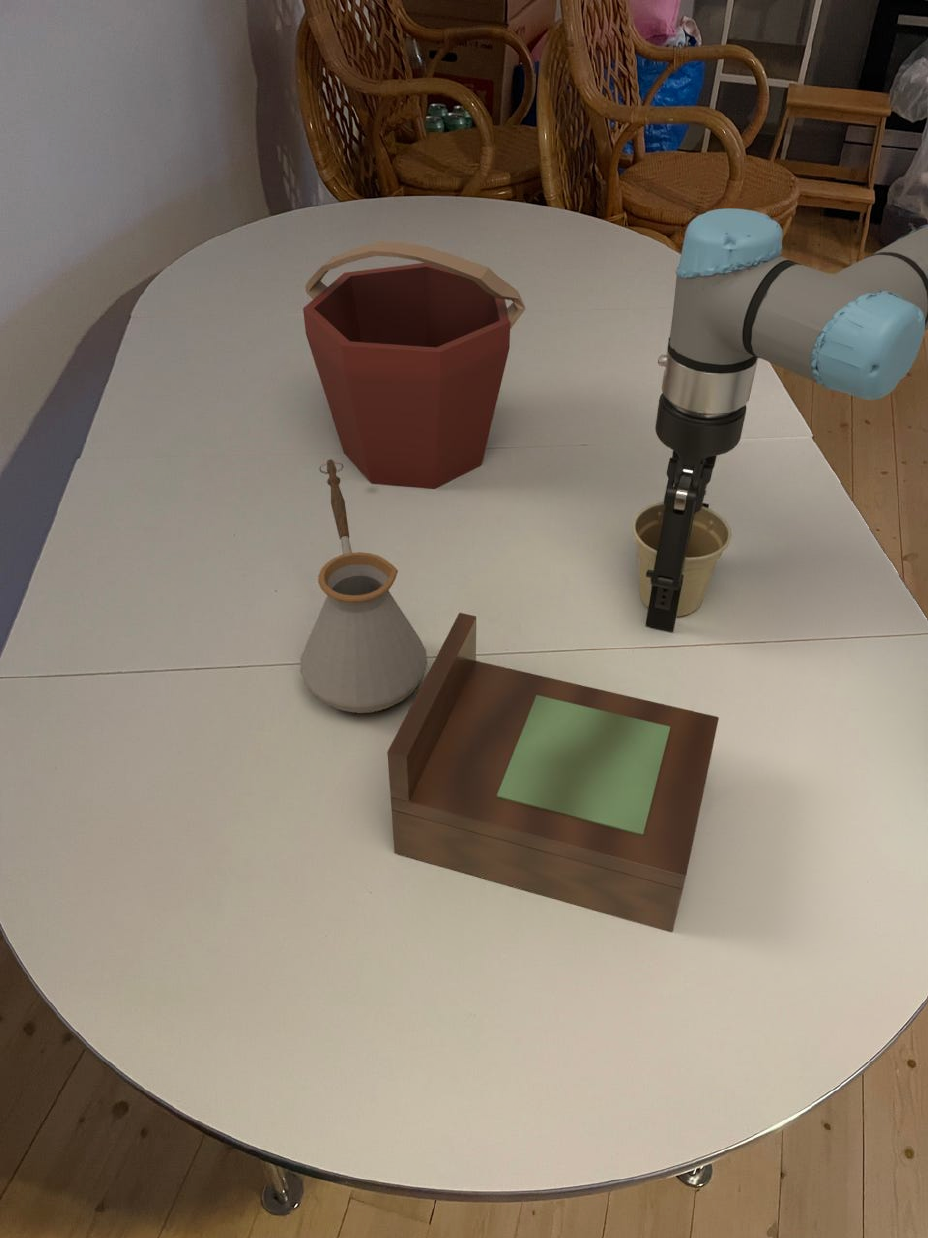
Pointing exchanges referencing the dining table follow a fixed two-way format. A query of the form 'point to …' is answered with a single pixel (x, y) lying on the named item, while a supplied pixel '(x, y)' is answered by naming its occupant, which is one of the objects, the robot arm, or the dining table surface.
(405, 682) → the coffee pot
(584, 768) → the plant shelf
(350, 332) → the bucket
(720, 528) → the flower pot
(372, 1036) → the dining table surface
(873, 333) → the robot arm
